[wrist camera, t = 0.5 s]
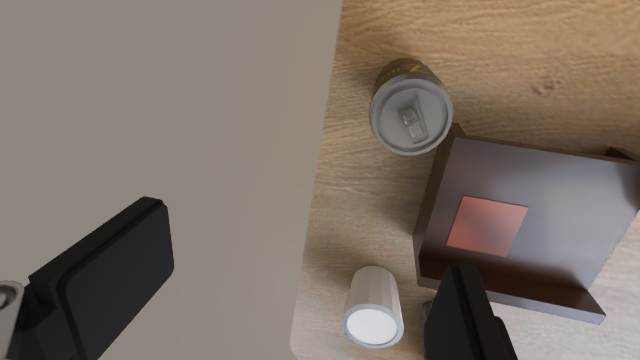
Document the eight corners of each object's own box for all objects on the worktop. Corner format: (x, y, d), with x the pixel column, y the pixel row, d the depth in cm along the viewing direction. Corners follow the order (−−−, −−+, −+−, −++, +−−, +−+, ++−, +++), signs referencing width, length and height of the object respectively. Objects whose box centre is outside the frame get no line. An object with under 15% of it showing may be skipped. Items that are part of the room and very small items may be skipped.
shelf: (445, 121, 32) (462, 148, 24) (624, 148, 30) (698, 186, 23) (412, 237, 38) (417, 286, 31) (558, 265, 36) (600, 324, 29)
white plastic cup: (413, 283, 41) (417, 329, 34) (377, 310, 44) (375, 358, 38) (370, 252, 40) (367, 294, 34) (337, 282, 43) (328, 325, 37)
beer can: (442, 98, 31) (470, 136, 20) (389, 124, 33) (390, 171, 22) (418, 45, 29) (435, 56, 19) (365, 75, 31) (352, 101, 21)
